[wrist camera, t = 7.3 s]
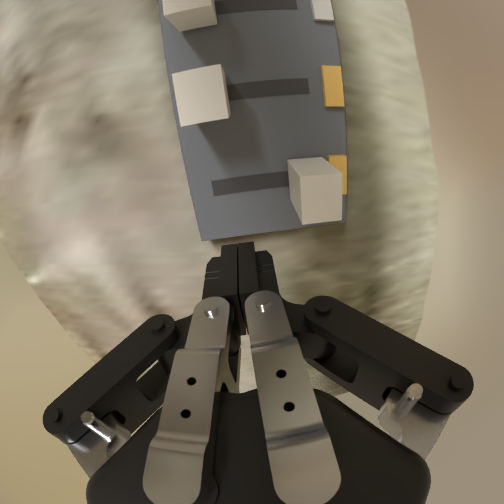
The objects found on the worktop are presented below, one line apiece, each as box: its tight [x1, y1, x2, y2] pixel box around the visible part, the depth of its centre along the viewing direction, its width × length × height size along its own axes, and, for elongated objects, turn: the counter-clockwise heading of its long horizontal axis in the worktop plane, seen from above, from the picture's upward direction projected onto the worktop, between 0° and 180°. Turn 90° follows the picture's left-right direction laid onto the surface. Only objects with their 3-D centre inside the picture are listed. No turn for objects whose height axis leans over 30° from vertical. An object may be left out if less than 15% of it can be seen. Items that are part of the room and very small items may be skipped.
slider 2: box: [287, 157, 342, 225], centre depth 20 cm, size 4×3×5 cm
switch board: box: [158, 0, 347, 241], centre depth 19 cm, size 26×14×2 cm, turn 7°
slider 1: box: [162, 0, 217, 32], centre depth 12 cm, size 4×3×5 cm
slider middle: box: [172, 64, 231, 127], centre depth 16 cm, size 4×3×5 cm
